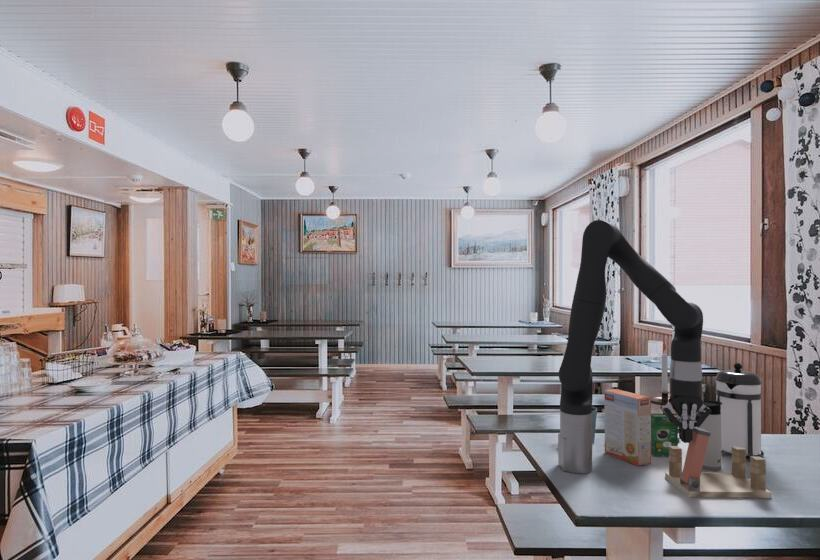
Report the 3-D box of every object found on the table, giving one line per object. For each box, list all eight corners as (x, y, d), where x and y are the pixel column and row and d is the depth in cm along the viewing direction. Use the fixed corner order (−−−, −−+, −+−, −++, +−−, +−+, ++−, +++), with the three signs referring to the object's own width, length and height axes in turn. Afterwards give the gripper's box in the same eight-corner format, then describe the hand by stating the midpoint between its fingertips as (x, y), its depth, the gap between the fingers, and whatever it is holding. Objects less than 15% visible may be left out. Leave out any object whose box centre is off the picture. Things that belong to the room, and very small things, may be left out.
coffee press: (781, 464, 150) (780, 367, 151) (724, 462, 153) (723, 366, 153) (751, 446, 168) (750, 358, 168) (700, 444, 170) (700, 358, 170)
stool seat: (690, 497, 127) (690, 461, 128) (665, 477, 141) (664, 444, 141) (772, 498, 127) (772, 462, 127) (739, 478, 140) (739, 445, 140)
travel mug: (726, 471, 145) (725, 404, 145) (702, 470, 146) (701, 403, 147) (717, 464, 151) (717, 399, 151) (694, 462, 153) (693, 398, 153)
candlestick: (651, 433, 182) (650, 339, 183) (684, 438, 176) (683, 341, 176) (645, 441, 174) (645, 342, 174) (680, 446, 167) (679, 344, 168)
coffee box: (673, 453, 161) (673, 413, 161) (678, 456, 158) (678, 416, 158) (649, 453, 161) (649, 413, 161) (654, 457, 158) (653, 416, 158)
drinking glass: (568, 435, 181) (568, 402, 181) (597, 438, 177) (597, 405, 177) (566, 443, 171) (566, 409, 171) (597, 447, 167) (597, 412, 168)
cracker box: (652, 464, 151) (652, 396, 151) (637, 467, 149) (637, 398, 149) (617, 450, 164) (617, 387, 164) (604, 452, 162) (603, 389, 162)
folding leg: (686, 483, 129) (698, 430, 129) (680, 478, 132) (691, 426, 132) (698, 486, 129) (710, 432, 129) (692, 481, 132) (703, 429, 132)
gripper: (667, 379, 127) (667, 446, 127) (719, 380, 127) (719, 447, 127) (654, 374, 135) (654, 437, 135) (702, 374, 134) (703, 437, 134)
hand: (685, 441), depth 131 cm, fingers closed
